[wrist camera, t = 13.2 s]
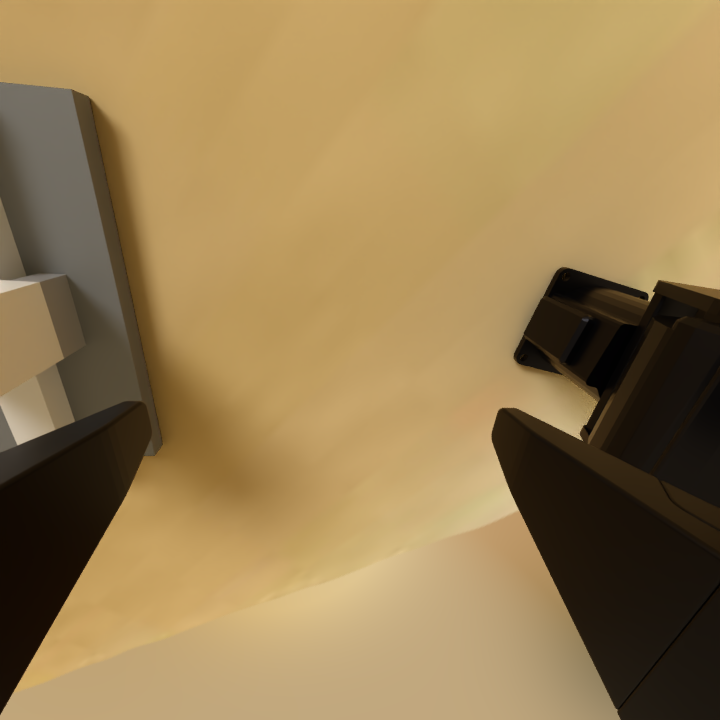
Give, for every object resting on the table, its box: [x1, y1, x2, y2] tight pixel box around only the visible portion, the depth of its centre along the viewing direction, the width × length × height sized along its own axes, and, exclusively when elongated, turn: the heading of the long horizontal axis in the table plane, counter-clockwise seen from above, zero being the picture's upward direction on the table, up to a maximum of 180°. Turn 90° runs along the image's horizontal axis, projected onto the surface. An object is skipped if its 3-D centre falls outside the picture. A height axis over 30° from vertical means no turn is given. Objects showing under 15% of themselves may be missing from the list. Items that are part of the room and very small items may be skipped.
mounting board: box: [0, 82, 163, 456], centre depth 18 cm, size 20×11×3 cm, turn 177°
